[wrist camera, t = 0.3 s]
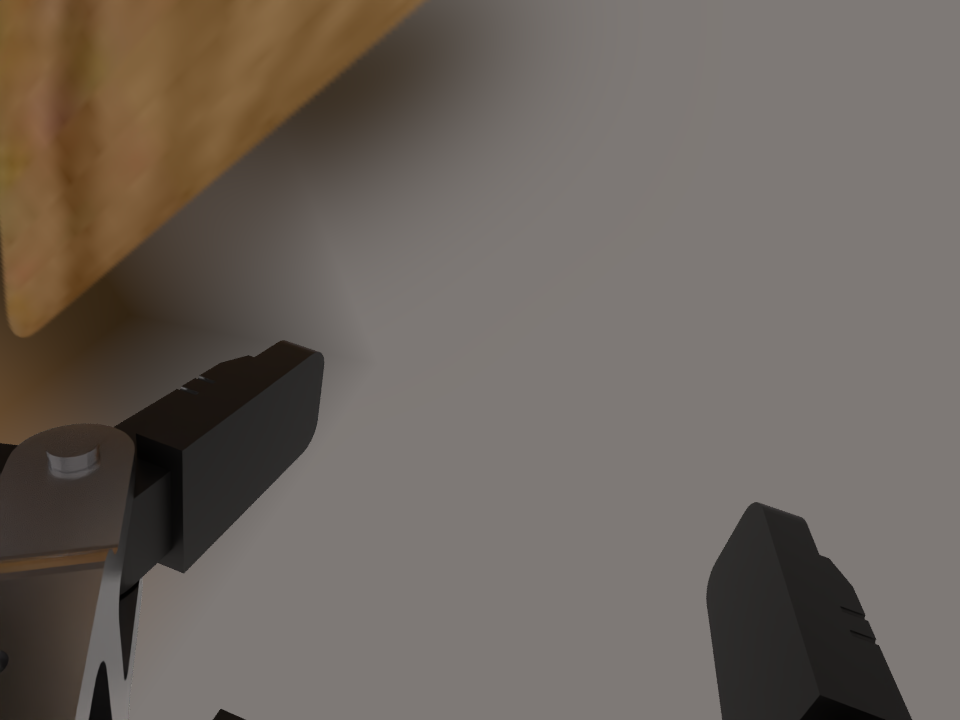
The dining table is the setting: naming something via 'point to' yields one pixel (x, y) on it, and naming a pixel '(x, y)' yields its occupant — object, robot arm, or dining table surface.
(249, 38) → the dining table surface
